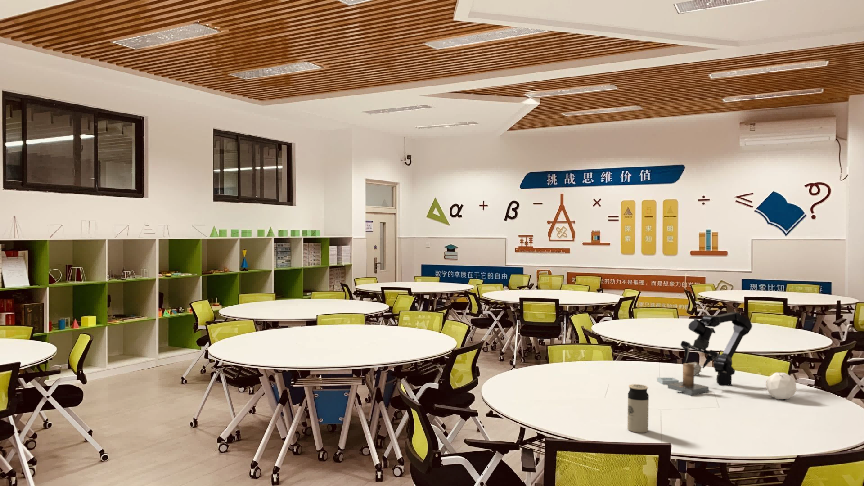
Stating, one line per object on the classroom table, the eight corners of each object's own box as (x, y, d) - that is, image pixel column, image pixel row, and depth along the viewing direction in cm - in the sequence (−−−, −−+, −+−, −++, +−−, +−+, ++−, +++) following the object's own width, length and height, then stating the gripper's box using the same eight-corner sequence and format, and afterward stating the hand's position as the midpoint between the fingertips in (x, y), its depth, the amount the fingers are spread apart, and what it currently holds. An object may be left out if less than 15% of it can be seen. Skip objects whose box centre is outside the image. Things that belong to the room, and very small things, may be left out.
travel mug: (643, 427, 260) (644, 384, 260) (651, 433, 252) (651, 388, 252) (624, 427, 259) (625, 383, 259) (631, 433, 251) (632, 388, 251)
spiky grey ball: (697, 381, 363) (706, 370, 357) (684, 376, 363) (693, 364, 357) (695, 371, 370) (704, 360, 365) (682, 366, 370) (691, 354, 365)
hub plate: (684, 386, 333) (684, 381, 333) (708, 392, 321) (708, 386, 321) (667, 390, 326) (667, 384, 326) (691, 395, 314) (691, 389, 314)
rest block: (672, 383, 342) (673, 377, 342) (678, 386, 335) (678, 380, 335) (656, 383, 342) (656, 377, 342) (662, 386, 335) (662, 380, 335)
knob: (686, 387, 327) (687, 362, 327) (695, 389, 323) (696, 364, 323) (680, 388, 325) (680, 363, 324) (689, 391, 320) (689, 365, 320)
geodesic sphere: (804, 393, 299) (798, 367, 307) (772, 391, 301) (767, 365, 309) (795, 405, 310) (789, 379, 318) (765, 403, 313) (760, 378, 321)
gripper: (683, 328, 333) (673, 355, 331) (720, 340, 322) (710, 368, 320) (687, 333, 342) (677, 359, 340) (722, 345, 331) (713, 372, 329)
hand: (694, 364), depth 332 cm, fingers open, 9 cm apart
